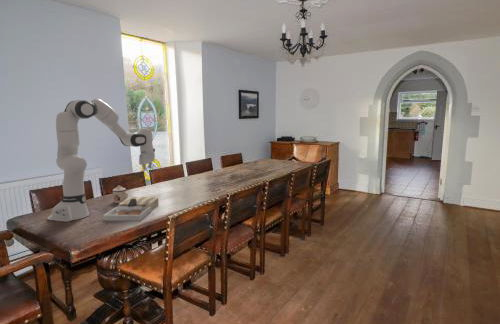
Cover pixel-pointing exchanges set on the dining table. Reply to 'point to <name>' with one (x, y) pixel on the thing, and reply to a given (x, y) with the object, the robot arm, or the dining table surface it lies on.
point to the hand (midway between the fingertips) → (147, 169)
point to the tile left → (123, 213)
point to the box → (114, 215)
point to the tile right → (135, 213)
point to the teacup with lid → (119, 194)
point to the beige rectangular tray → (142, 201)
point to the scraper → (130, 207)
